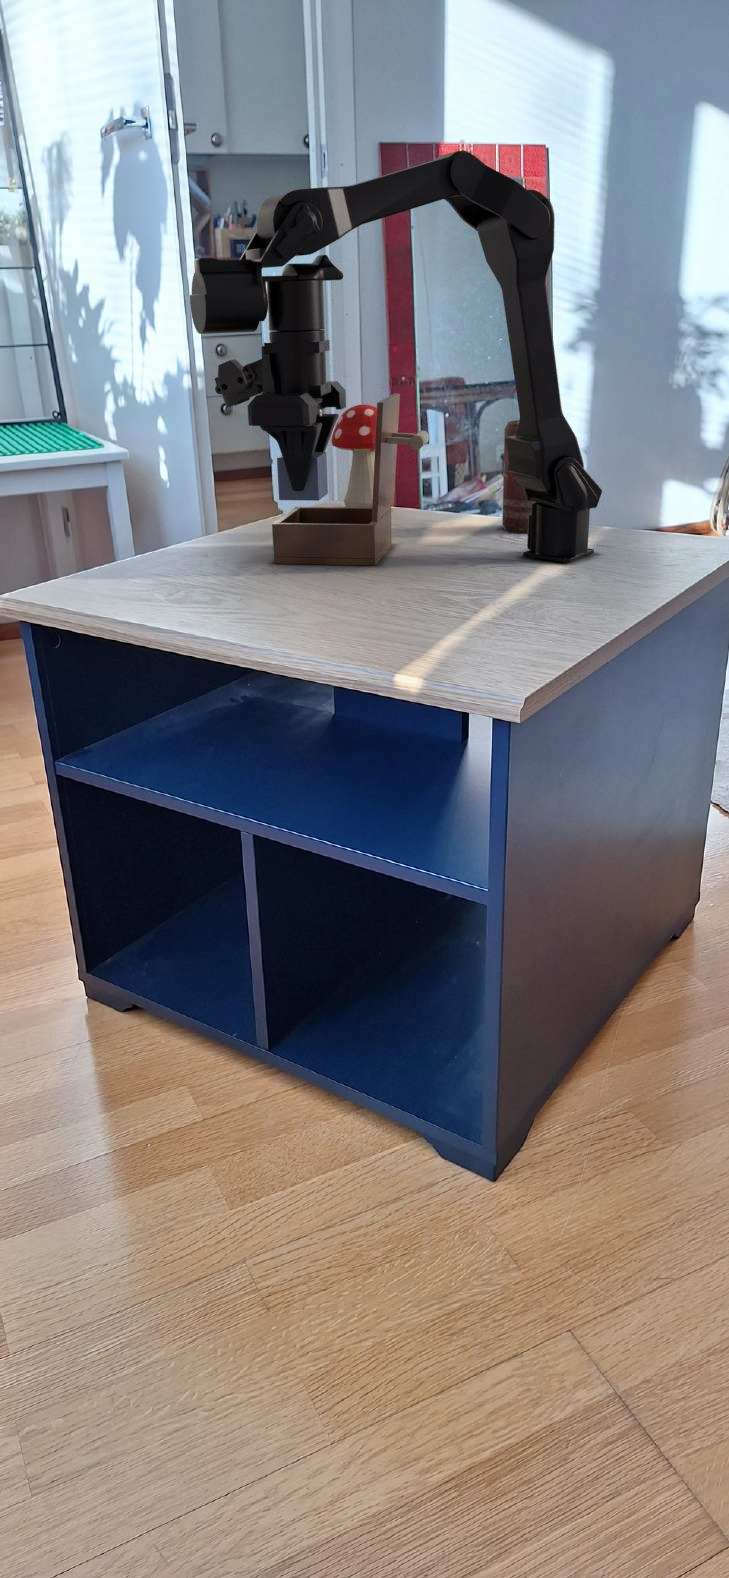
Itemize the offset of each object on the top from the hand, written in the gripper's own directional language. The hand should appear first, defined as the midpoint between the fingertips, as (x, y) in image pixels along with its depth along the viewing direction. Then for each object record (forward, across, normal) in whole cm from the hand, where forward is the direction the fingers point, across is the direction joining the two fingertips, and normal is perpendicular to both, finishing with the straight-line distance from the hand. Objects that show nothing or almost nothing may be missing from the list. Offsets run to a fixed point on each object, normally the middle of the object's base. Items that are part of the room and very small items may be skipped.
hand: (303, 487), depth 120 cm
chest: (+11, -17, -1) cm, 21 cm away
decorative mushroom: (+11, -48, -2) cm, 49 cm away
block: (+1, 0, 0) cm, 1 cm away
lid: (-1, -17, +6) cm, 18 cm away
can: (+11, -35, +22) cm, 43 cm away
